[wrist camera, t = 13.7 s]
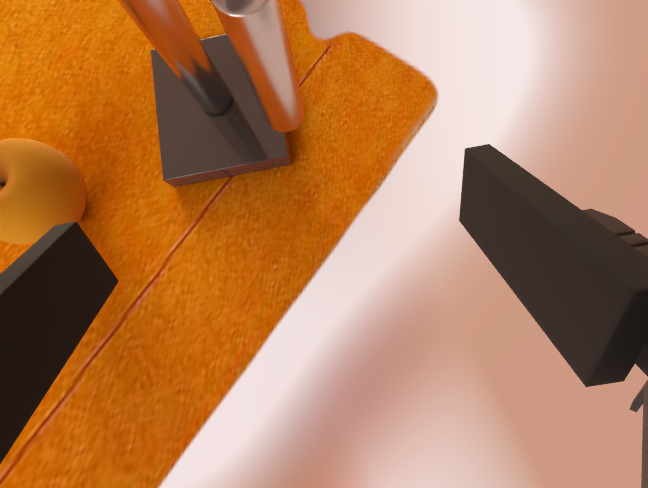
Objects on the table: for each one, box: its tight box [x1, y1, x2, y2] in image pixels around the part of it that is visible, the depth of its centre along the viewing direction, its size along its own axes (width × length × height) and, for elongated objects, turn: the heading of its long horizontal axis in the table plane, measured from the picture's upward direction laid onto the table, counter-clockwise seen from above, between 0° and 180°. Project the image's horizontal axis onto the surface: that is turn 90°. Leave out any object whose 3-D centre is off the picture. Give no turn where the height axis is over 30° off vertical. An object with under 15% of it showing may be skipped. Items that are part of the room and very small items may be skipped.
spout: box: [118, 0, 305, 132], centre depth 22 cm, size 13×3×18 cm, turn 54°
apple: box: [0, 138, 87, 245], centre depth 29 cm, size 9×9×9 cm
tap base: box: [151, 34, 292, 187], centre depth 33 cm, size 14×12×2 cm
